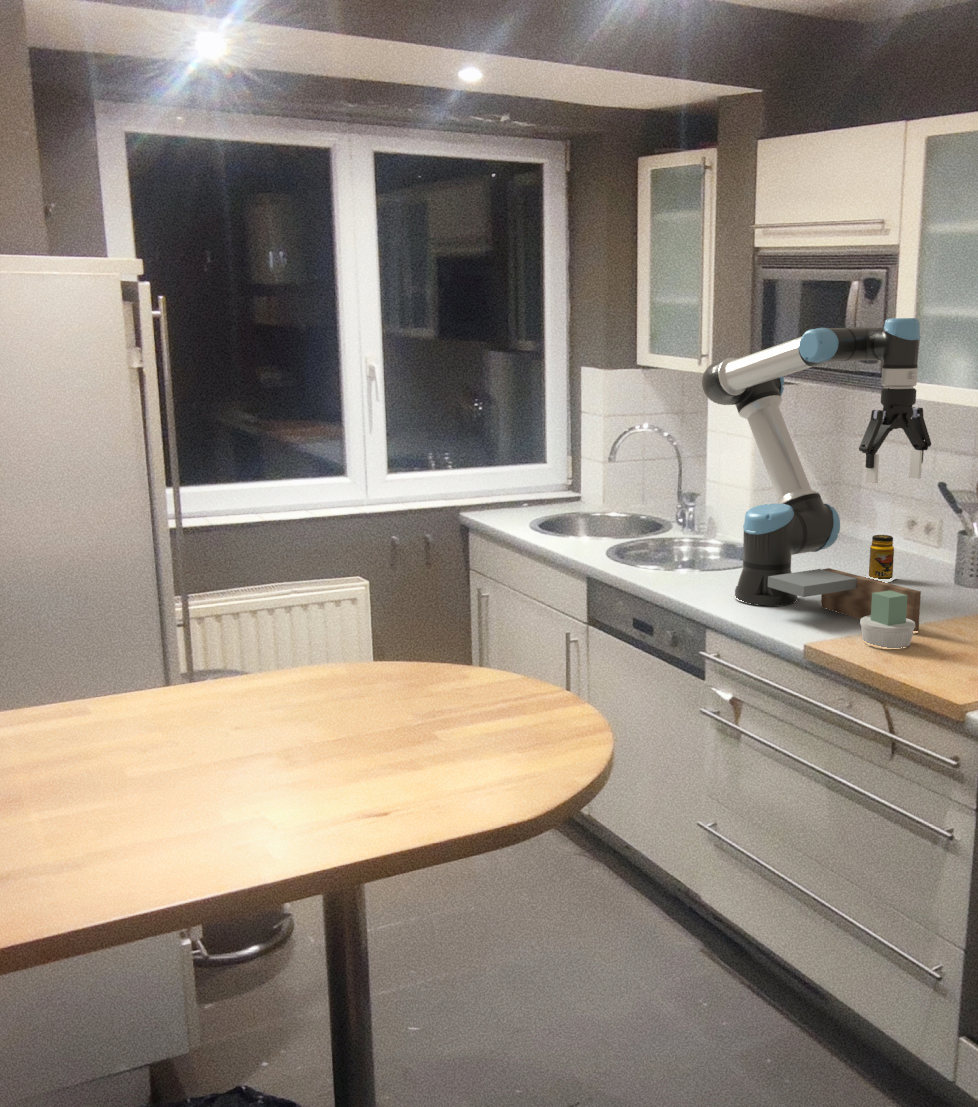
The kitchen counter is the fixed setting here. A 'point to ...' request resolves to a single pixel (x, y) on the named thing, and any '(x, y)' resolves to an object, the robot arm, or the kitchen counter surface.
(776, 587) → the lid
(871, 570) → the condiment
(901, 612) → the block
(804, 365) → the robot arm
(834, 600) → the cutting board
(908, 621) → the ramekin
